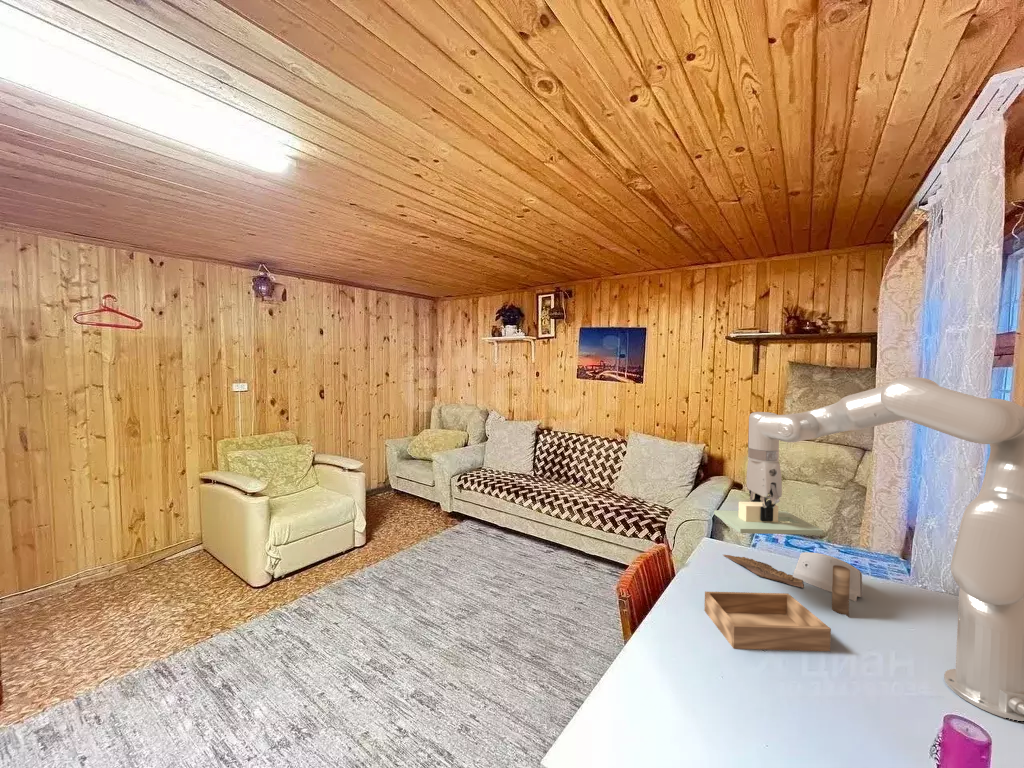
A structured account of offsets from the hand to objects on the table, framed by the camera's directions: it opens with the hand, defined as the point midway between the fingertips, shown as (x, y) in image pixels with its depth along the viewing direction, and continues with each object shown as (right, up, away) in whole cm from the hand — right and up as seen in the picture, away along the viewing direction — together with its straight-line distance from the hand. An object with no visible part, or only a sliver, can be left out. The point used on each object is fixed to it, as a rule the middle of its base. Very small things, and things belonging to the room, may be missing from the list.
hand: (761, 517), depth 117 cm
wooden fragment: (+10, -23, +17) cm, 30 cm away
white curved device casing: (+25, -24, +7) cm, 35 cm away
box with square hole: (-10, -23, -16) cm, 30 cm away
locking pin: (+17, -23, -8) cm, 30 cm away
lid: (+1, -2, 0) cm, 2 cm away
